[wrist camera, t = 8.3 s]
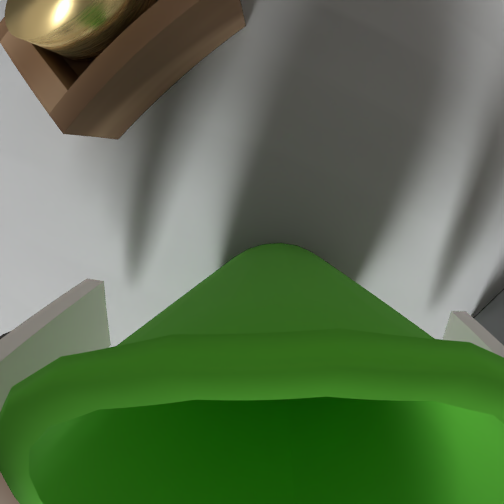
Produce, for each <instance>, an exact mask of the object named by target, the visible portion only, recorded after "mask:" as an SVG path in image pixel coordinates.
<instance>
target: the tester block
mask: <svg viewBox="0 0 504 504" xmlns="http://www.w3.org/2000/svg"><path fill="white" fill-rule="evenodd" d="M245 26H246V24H245V20H244V15H243V11H242V6H241V2H240V0H157V1H156V3H155V4H154V5H153V6H152V7H150V8H149V9H148V10H147V11H146V12H144V13H143V14H142V15H141V16H140V17H139V18H137V19H136V20H135V21H134V22H133V23H132V24H131V25H130V26H129V27H127V28H126V29H125V30H124V31H123V32H122V33H121V34H120V35H119V36H118V37H117V38H116V39H115V40H114V41H113V42H112V43H111V44H110V45H109V46H108V47H107V48H106V49H105V50H104V51H103V52H102V53H101V54H100V55H99V56H98V57H97V58H96V59H94V60H88V61H77V60H72V59H70V58H67V57H65V56H62V55H60V54H58V53H55V52H53V51H50V50H48V49H45V48H43V47H40V46H38V45H35V44H33V43H30V42H27V41H25V40H22V39H19V38H17V37H15V36H13V35H12V34H11V33H10V32H9V30H8V28H7V26H6V22H5V17H4V18H3V19H2V21H1V22H0V43H1V44H2V46H3V48H4V49H5V51H6V52H7V54H8V55H9V57H10V58H11V60H12V62H13V63H14V65H15V66H16V68H17V69H18V71H19V72H20V74H21V75H22V77H23V78H24V80H25V81H26V82H27V84H28V85H29V87H30V88H31V90H32V91H33V93H34V94H35V95H36V97H37V98H38V100H39V101H40V103H41V104H42V105H43V107H44V108H45V110H46V111H47V112H48V114H49V115H50V116H51V118H52V119H53V121H54V122H55V123H56V125H57V126H58V127H59V129H60V130H61V131H62V133H63V134H70V135H81V136H92V137H101V138H110V139H119V138H120V137H121V136H122V135H123V134H124V133H125V132H126V130H127V129H128V128H129V127H130V126H131V125H132V124H133V123H134V122H135V121H136V120H137V119H138V118H139V117H140V116H141V115H142V114H143V113H144V112H145V111H146V110H147V109H148V108H149V107H150V106H151V105H152V104H153V103H154V102H155V101H156V100H157V99H158V98H159V97H160V96H162V95H163V94H164V93H165V92H166V91H167V90H168V89H169V88H170V87H171V86H172V85H173V84H175V83H176V82H177V81H178V80H179V79H180V78H181V77H182V76H184V75H185V74H186V73H187V72H188V71H189V70H190V69H192V68H193V67H194V66H195V65H196V64H198V63H199V62H200V61H201V60H202V59H204V58H205V57H206V56H207V55H208V54H210V53H211V52H212V51H213V50H215V49H216V48H217V47H218V46H220V45H221V44H222V43H224V42H225V41H226V40H227V39H229V38H230V37H231V36H233V35H234V34H235V33H237V32H238V31H240V30H241V29H242V28H244V27H245Z"/></svg>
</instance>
